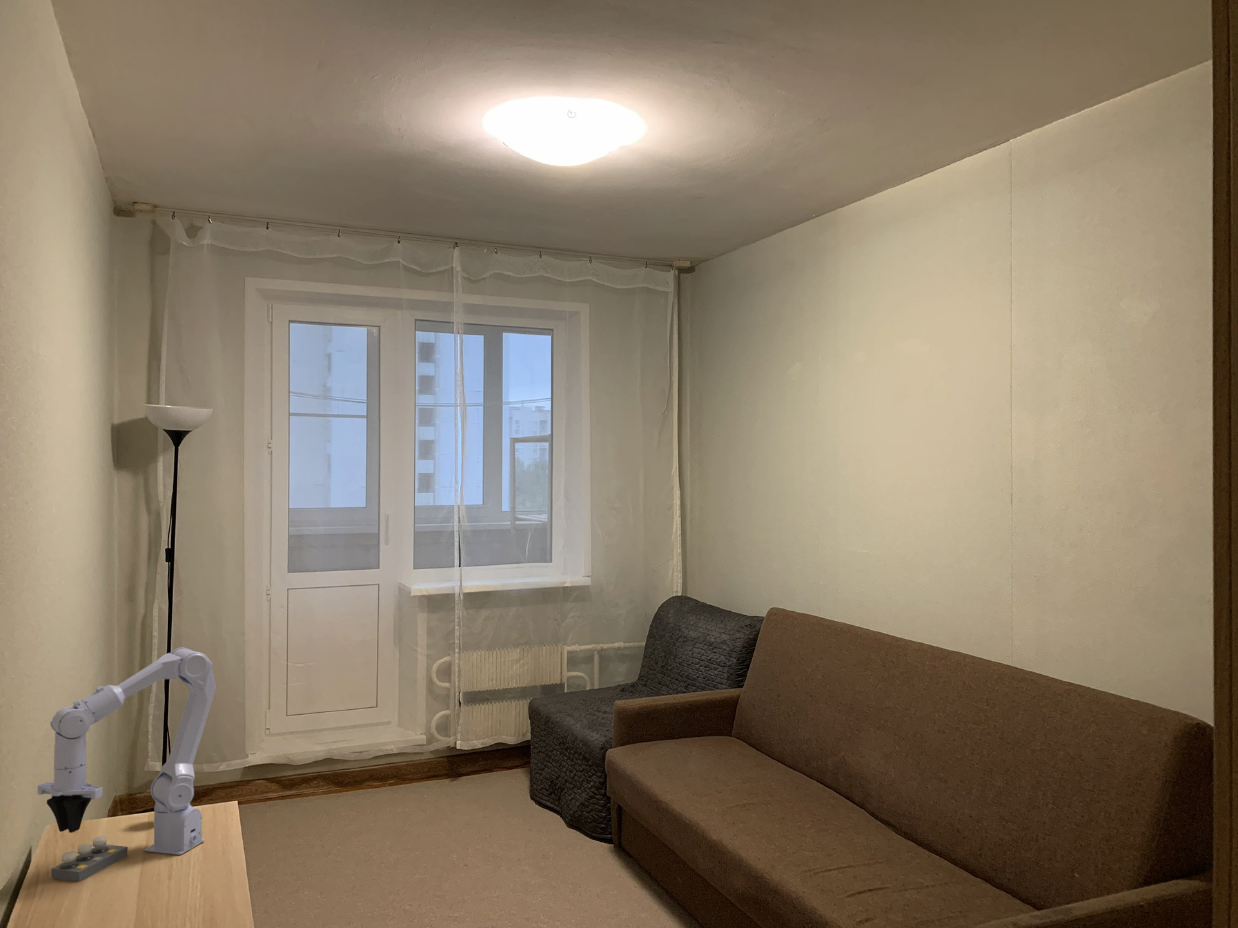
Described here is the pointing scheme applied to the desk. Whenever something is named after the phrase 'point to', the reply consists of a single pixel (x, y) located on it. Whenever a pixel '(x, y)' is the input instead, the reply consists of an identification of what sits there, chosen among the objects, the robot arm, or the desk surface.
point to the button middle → (84, 848)
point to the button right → (99, 841)
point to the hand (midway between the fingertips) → (69, 830)
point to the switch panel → (89, 863)
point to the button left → (69, 856)
